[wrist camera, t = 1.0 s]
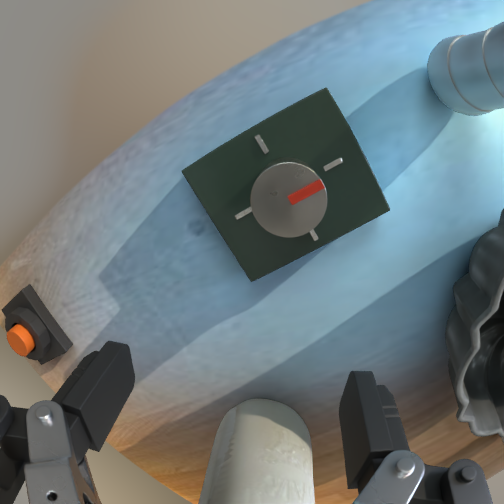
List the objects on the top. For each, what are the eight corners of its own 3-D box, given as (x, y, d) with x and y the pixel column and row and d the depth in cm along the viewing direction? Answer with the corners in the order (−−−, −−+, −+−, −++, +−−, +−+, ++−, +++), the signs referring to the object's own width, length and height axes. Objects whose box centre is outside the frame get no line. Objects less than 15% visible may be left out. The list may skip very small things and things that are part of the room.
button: (10, 328, 31) (2, 335, 29) (21, 319, 30) (13, 327, 28) (27, 351, 32) (20, 359, 30) (39, 344, 31) (31, 352, 29)
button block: (8, 304, 33) (-7, 316, 30) (30, 283, 32) (12, 296, 28) (47, 357, 36) (34, 372, 32) (73, 344, 34) (58, 360, 31)
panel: (254, 267, 28) (251, 283, 25) (191, 167, 26) (180, 171, 23) (379, 202, 25) (391, 210, 22) (321, 92, 23) (326, 86, 20)
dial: (276, 229, 24) (274, 252, 19) (245, 176, 22) (235, 187, 18) (330, 200, 22) (341, 217, 18) (299, 146, 21) (304, 148, 17)
